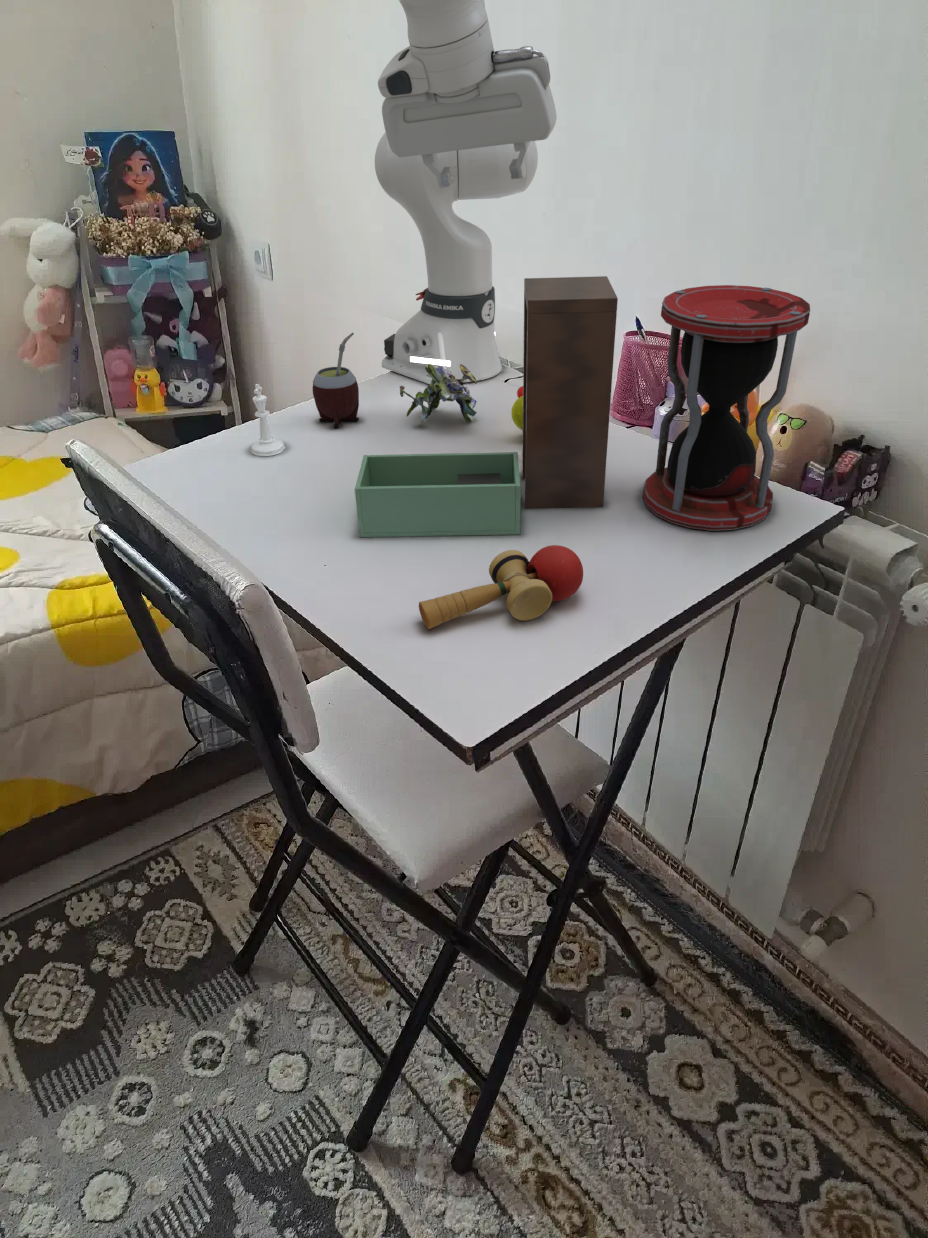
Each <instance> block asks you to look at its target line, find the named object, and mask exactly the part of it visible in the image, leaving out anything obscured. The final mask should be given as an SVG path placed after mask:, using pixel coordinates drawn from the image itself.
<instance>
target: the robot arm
mask: <svg viewBox="0 0 928 1238" xmlns="http://www.w3.org/2000/svg"><path fill="white" fill-rule="evenodd" d="M398 2H399V3H400V5H401V7H402V9H403V11H404V13H405V18H406V22H407V39H408V43H409V45H408V46H407V47H405V48H403V49H402V50H400V51H399V52H397V53H396V54H395V55H394V56H393V57H392V58H391V59H390V61H389V62H388V63H387V64H386V66H385V67H384V68H383V70H382V71H381V74H380V75H379V78H378V79H377V87H378V90H379V93H380V94H381V96H382V97H383V98H384V100H383V101H382V105H381V115H382V122H383V127H384V133H383V134H382V136H381V137H380V139H379V141H378V143H377V146H376V149H375V154H374V171H375V175H376V178H377V181H378V183H379V186H380V187H381V189H383V191H384V193H386V195H388V196H389V197H390V198H391V199H392V200H394V201H395V202H397V203H398V204H399V205H400V206H401V207H402V208H403V209H404V210H405V211H406V212H407V214H408V215H409V216H410V217H411V219H412V220H413V222H414V224H415V226H416V227H417V229H418V232H419V234H420V237H421V240H422V245H423V251H424V256H425V265H426V276H427V278H426V279H427V287H426V288H424V289H423V290H422V291H420V292H416V293H415V296H417V297H416V298H415V301H419V300H422V302H421V306H420V310H419V311H417V312H416V313H415V314H414V315H412V317H410V318H409V320H407V321H406V322H405V323H404V324H403V325H401V326H400V327H399V328H398V329H397V330H396V332H395V333H393V334H391V335H389V336H388V337H387V338H385V339H384V340H383V345H384V347H383V351H384V355H386V356H385V357H384V358H383V359H381V360H382V361H381V368H383V369H386V370H388V371H391V372H394V373H396V374H399V375H402V376H405V377H408V378H411V379H413V380H415V381H419V382H421V383H425V384H427V385H429V386H430V385H431V380H432V378H431V376H430V375H429V374H428V373H427V371H426V369H425V365H426V364H432V365H433V366H434V368H435V369H436V368H438V365H439V366H440V367H443V368H444V369H446V370H447V371H449V372H450V371H451V373H452V374H453V375H454V377H455V378H456V379H461V378H462V377H463V376H464V375H463V374H462V372H461V369H460V364H462V365H464V366H465V367H466V368H467V369H468V370H469V371H470V372H471V374H472V375H473V376H474V377H475V378H476V381H477V382H479V381H484V380H487V379H490V378H493V377H496V376H498V375H499V374H500V373H501V372H502V371H503V365H502V361H501V359H500V355H499V351H498V345H497V338H496V335H497V334H496V330H495V317H496V316H495V314H496V289H495V287H494V286H493V245H492V241H491V238H490V236H489V235H488V234H487V233H486V232H485V231H484V230H483V229H482V228H481V227H479V226H478V225H476V224H474V223H472V222H470V221H467V220H465V219H463V218H462V217H460V216H458V215H457V214H456V213H455V211H454V209H453V204H454V202H456V201H457V202H458V201H465V200H466V201H468V200H489V199H490V200H491V199H500V198H504V197H509V196H512V195H516V194H519V193H523V192H525V191H526V190H527V189H528V188H529V186H530V185H531V183H532V182H533V180H534V178H535V175H536V173H537V169H538V162H539V154H538V147H537V144H536V142H537V141H544V140H547V139H548V138H549V137H550V135H551V133H552V132H553V130H554V128H555V126H556V124H557V118H558V117H557V109H556V104H555V100H554V97H553V96H554V95H553V93H552V89H551V87H550V83H551V71H550V65H549V60H548V58H547V56H546V55H545V54H544V53H543V52H542V51H540V50H538V49H534V47H533V46H530V45H529V46H525V45H524V46H521V47H520V48H514V49H513V48H512V49H511V48H510V49H501V50H495V48H494V42H493V39H492V33H491V28H490V22H489V17H488V13H487V9H486V3H485V0H398ZM427 367H428V366H427ZM471 382H472V381H470V380H469V379H465V380H464V381H463V383H471ZM472 383H473V382H472Z"/></svg>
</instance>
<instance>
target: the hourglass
mask: <svg viewBox="0 0 928 1238" xmlns="http://www.w3.org/2000/svg"><path fill="white" fill-rule="evenodd" d="M810 315H811V304H810V303H809V302H808V301H807V300H805V299H804V298H802V297H800V296H798V295H795V294H794V293H793V294H792V293H790V292H786V291H782V290H779V289H778V290H777V289H773V288H770V287H759V286H751V285H736V284H735V285H734V284H733V285H732V284H722V285H721V284H720V285H719V284H718V285H703V286H695V287H688V288H684V289H683V288H682V289H679V290H675V291H673V292H672V293H670V294H668V295H666V296H664V298H663V300H662V302H661V310H660V317H661V318H662V320H663V321H664V322H665V323H666V324H667V325H669V326H671V329H670V337H669V346H668V355H667V363H666V364H667V365H666V366H667V371H668V377H669V379H670V381H671V383H672V385H673V388H674V389H673V390H674V399H673V400H674V401H673V403H672V406H671V408H670V410H668V411H667V412H666V413H665V414H664V416H663V419H662V420H661V422H660V430H659V440H658V449H657V458H656V467H655V471H654V472H653V473H652V474H651V475H649V477H647V478H646V479H645V481H644V484H643V488H642V489H643V490H642V496H641V497H642V501H643V503H644V505H645V507H646V508H647V509H648V510H649V511H651V512H652V513H653V514H654V515H655V516H656V517H658V518H660V519H662V520H664V521H666V522H668V523H671V524H674V525H678V526H681V527H685V528H688V529H693V530H694V529H695V530H703V531H710V532H714V531H716V532H717V531H734V530H739V529H740V530H741V529H743V528H749V527H751V526H754V525H756V524H758V523H761V522H762V521H764V520H766V518H767V516H769V514H770V513H771V512H772V506H773V499H774V492H773V491H772V489H771V487H770V486H769V483H770V482H769V481H770V476H771V471H772V467H773V466H772V465H773V461H774V456H775V450H774V442H773V441H772V438H771V437H770V434H769V433H768V420H769V416H770V414H771V412H772V410H773V409H774V408H775V407H777V405H779V404H780V403H781V402H782V400H783V399H784V397H785V395H786V393H787V388H788V383H789V377H790V372H791V367H792V361H793V357H794V351H795V346H796V342H797V341H796V340H797V335H798V332H799V331H802V329H803V328H804V327H806V326H807V325H808V324H809V321H810ZM681 331H683V336H682V340H681ZM781 336H785V339H784V340H785V341H784V344H783V349H782V350H783V351H782V354H781V360H780V366H779V371H778V377H777V384H776V388H775V391H774V392H773V394H772V395H771V397H770V398H769V399H768V400H767V401H765V402H764V403H763V404H761V406H760V407H759V410H758V412H757V414H756V417H755V420H754V421H755V434H756V436H757V437H758V439H759V441H760V443H761V446H762V447H761V448H762V451H763V458H762V463H761V469H760V474H759V477H758V476H757V475H755V474H756V468H757V449H756V447H755V444H754V441H753V439H752V438H751V436H750V435H749V433H748V429H749V424H750V411H749V409H748V401H749V395H750V394H751V393H752V392H753V391H754V390H755V389H756V388H757V387H759V386H760V385H761V384H762V383H763V382H764V381H765V379H766V378H767V377H768V375H769V374H770V373H771V371H773V370H772V369H773V367H774V363H775V360H776V357H777V352H778V347H779V337H781ZM680 340H681V346H680ZM680 347H681V348H680ZM679 349H680V364H681V367H682V369H683V372H684V374H685V377H686V378H687V387H686V385H685V382H684V381H683V379H682V377H681V376H680V372H679V371H680V370H679V368H678V357H679ZM698 395H699V396H700V397H701V398H702V399H703V400H704V401H705V402H706V404H707V405H708V410H707V411H705V412H704V413H702V408H701V406H700V404H699V401H698ZM685 402H686V406H687V408H688V409H689V421H688V426H686V427H685V428H684V429H683V430H682V431H681V432H680V433H679V434H678V435H677V437H676V438H675V440H674V441H673V442H672V444H671V448H670V452H669V456H668V459H667V454H668V445H669V437H670V427H671V423H672V422H673V420H674V418H675V417H676V416H677V415H679V414H680V413H681V412H682V410H683V407H684V405H685ZM735 405H736V410H737V412H738V417H739V420H738V419H737V418H736V417H735V416H734V414H732V413H731V409H732V407H734V406H735ZM666 461H667V467H666Z"/></svg>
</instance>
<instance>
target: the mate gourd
mask: <svg viewBox="0 0 928 1238" xmlns="http://www.w3.org/2000/svg"><path fill="white" fill-rule="evenodd" d="M354 334H355V333H354V332H351V333H350V334H349V335H347V336H346V337H345V338H344V339H343V341H342V342H341V343H340V344H339V347H338V351H339V352H338V359H337V365H336V366H329V367H324V368H321V369H320V370H318V371H317V372H316V374H315V376H314V377H313V379H312V395H313V400H314V404H315V407H316V409H317V412H318V414H319V419H318V420H319V423H333V430H338V429H340V427H341V425H342V423H359V420H360V418H359V417H358V412H359V407H360V389H359V384H358V381H357V378H356V376H355V374H354V373H353V372H352V371H351V369H349V368H347V367H344V366H342V364H343V363H342V362H343V356H344V352H345V349H346V344H347V342H348V341H349V340H350V339H351V338H352V337H353V336H354Z"/></svg>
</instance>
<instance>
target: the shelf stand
mask: <svg viewBox="0 0 928 1238" xmlns="http://www.w3.org/2000/svg"><path fill="white" fill-rule="evenodd" d="M523 281H524V282H523V356H522V359H523V361H522V362H523V364H522V367H523V368H522V369H523V370H522V373H523V374H522V386H523V430H522V448H521V449H522V450H521V451H522V452H521V453H522V456H521V457H522V459H521V460H522V463H521V465H522V466H521V467H522V468H521V476H522V479H524V509H559V508H562V509H563V508H565V509H566V508H603V507H604V501H605V499H604V498H605V485H606V484H605V483H606V472H607V471H606V469H607V457H608V443H609V442H608V441H609V429H610V428H609V427H610V415H611V414H610V412H611V400H612V388H613V387H612V386H613V371H614V357H615V355H614V354H615V343H616V331H617V329H616V328H617V314H618V301H619V298H618V295H617V294H616V292H615V290H614V288H613V286H612V284H611V281H610V280H609V278H608V276H607V275H603V276H602V275H601V276H599V275H598V276H568V277H567V276H565V277H564V276H563V277H561V276H560V277H531V278H530V277H526V278H523Z"/></svg>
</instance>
